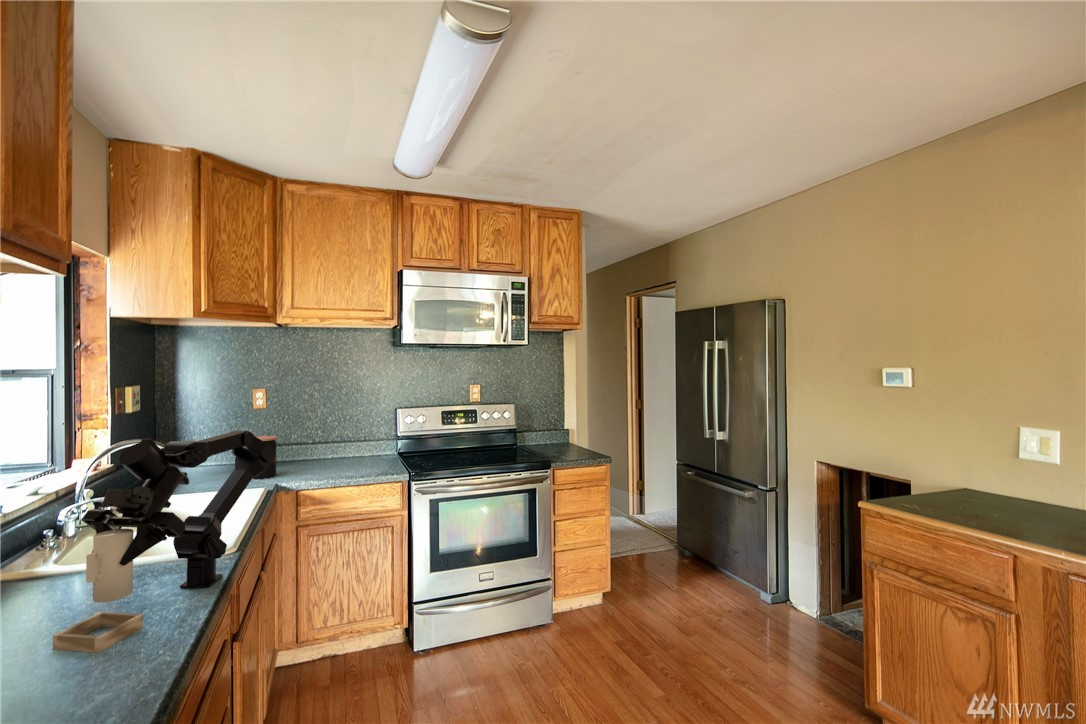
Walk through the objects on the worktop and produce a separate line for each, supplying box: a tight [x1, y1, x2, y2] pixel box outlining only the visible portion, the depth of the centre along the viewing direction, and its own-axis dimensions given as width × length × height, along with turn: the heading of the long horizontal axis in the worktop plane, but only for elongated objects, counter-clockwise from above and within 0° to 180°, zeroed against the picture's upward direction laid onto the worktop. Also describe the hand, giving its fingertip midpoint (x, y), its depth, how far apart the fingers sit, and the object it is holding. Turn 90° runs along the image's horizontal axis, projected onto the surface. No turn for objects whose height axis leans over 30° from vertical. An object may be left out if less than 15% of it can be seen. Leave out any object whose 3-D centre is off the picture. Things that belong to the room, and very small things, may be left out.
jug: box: [85, 528, 134, 603], centre depth 100 cm, size 8×6×12 cm
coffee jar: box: [252, 435, 277, 480], centre depth 236 cm, size 11×11×18 cm
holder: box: [52, 611, 144, 654], centre depth 98 cm, size 9×9×2 cm
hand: (106, 564), depth 99 cm, fingers closed on jug, 6 cm apart
